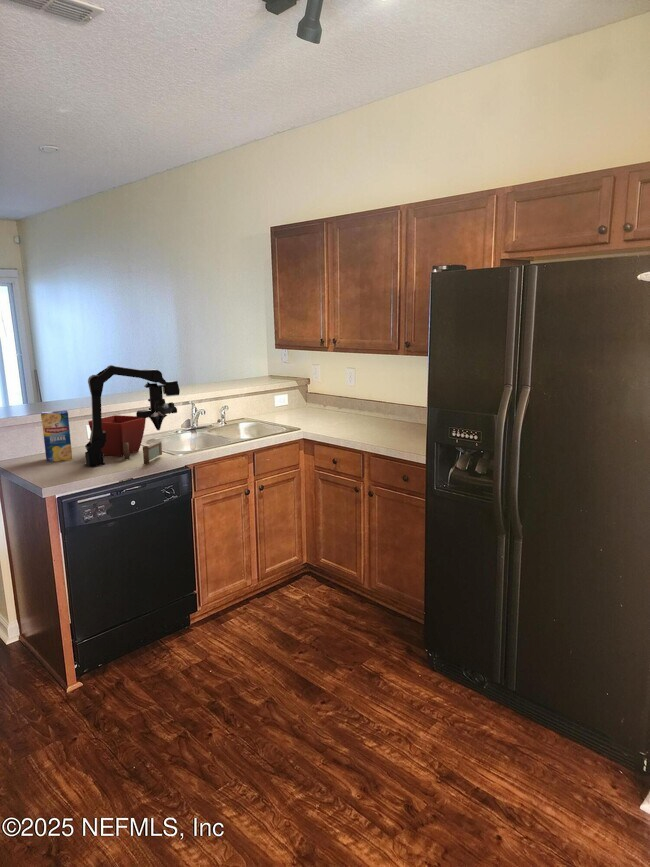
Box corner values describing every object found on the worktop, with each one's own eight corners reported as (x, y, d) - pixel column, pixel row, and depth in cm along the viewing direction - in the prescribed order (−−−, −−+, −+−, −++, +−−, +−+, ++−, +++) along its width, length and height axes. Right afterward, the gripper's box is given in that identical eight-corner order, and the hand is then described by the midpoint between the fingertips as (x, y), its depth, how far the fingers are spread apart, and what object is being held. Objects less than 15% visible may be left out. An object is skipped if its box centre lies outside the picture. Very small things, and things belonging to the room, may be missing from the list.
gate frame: (145, 464, 252) (144, 447, 251) (123, 459, 263) (121, 442, 261) (150, 463, 254) (149, 446, 253) (127, 458, 265) (126, 441, 263)
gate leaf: (146, 460, 256) (145, 447, 254) (158, 454, 267) (157, 441, 266) (150, 460, 255) (149, 447, 254) (162, 454, 267) (161, 441, 265)
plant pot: (117, 447, 287) (114, 414, 283) (149, 450, 280) (146, 416, 277) (90, 456, 269) (86, 421, 266) (123, 459, 263) (120, 423, 259)
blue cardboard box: (45, 459, 264) (40, 412, 259) (71, 456, 269) (67, 410, 264) (46, 462, 258) (41, 414, 253) (72, 459, 263) (68, 412, 258)
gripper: (149, 400, 248) (152, 435, 251) (183, 395, 262) (185, 429, 265) (134, 398, 254) (137, 432, 258) (168, 394, 269) (170, 426, 272)
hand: (158, 430), depth 263 cm, fingers closed
